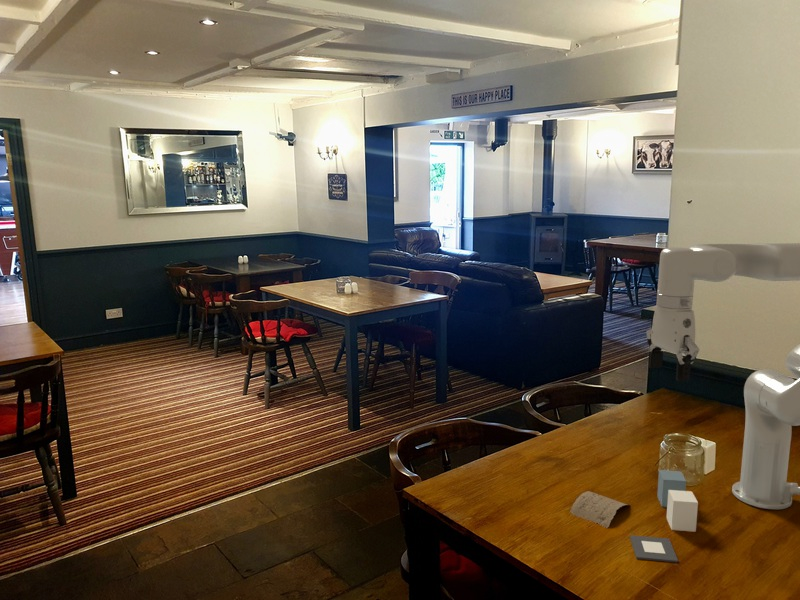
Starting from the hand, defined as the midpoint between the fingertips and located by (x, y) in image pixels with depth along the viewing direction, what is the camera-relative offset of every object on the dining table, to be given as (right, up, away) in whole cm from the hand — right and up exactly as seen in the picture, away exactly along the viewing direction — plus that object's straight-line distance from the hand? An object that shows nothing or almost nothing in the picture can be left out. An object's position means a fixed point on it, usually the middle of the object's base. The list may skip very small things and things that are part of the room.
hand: (668, 373), depth 145 cm
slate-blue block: (+2, -31, +4) cm, 32 cm away
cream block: (0, -33, -6) cm, 34 cm away
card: (-10, -35, -15) cm, 39 cm away
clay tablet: (-16, -33, +2) cm, 37 cm away
